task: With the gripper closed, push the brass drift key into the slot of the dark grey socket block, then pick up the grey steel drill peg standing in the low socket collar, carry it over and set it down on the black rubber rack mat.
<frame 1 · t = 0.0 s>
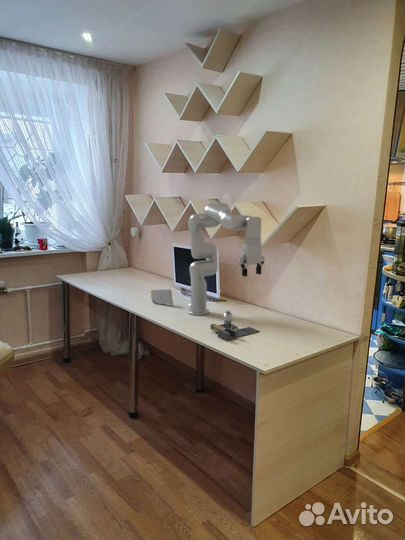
hand: (251, 275, 207), 31 cm above the table, tool pointing down, fingers open, 9 cm apart
rack mat: (243, 332, 215), on the table
socket collar: (227, 327, 223), on the table
drift key: (218, 329, 212), point 3 cm above the table, slide at 0.0 cm
drill peg: (227, 327, 223), resting in socket collar
socket block: (227, 337, 207), on the table
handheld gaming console: (161, 304, 265), on the table
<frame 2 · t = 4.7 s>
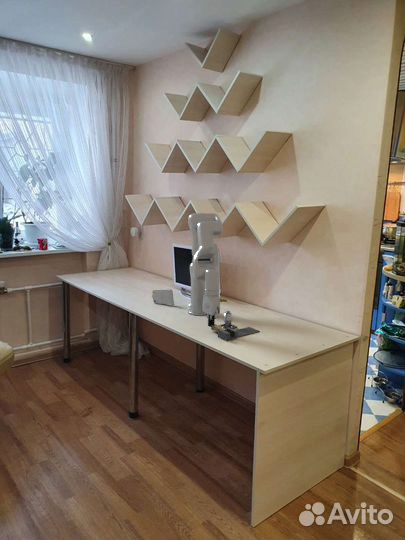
hand: (211, 326, 217), 2 cm above the table, tool pointing down, fingers closed
drift key: (219, 329, 211), point 2 cm above the table, slide at 0.7 cm, touching gripper
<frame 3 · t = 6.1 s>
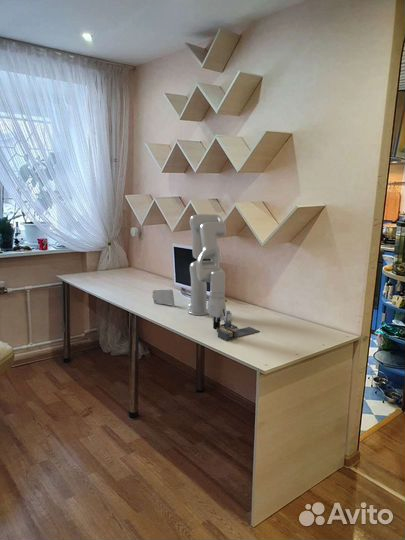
hand: (216, 328, 213), 2 cm above the table, tool pointing down, fingers closed
drift key: (224, 331, 208), point 2 cm above the table, slide at 5.2 cm, touching gripper
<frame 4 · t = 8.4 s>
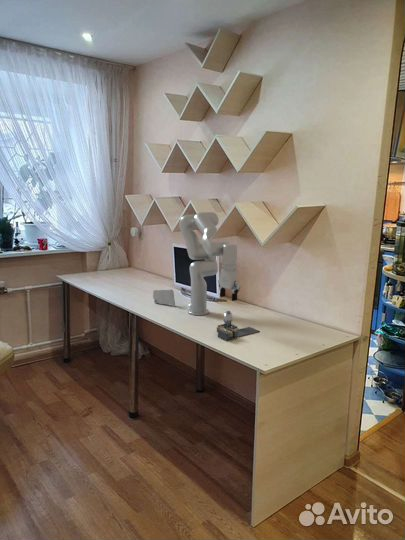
hand: (228, 298, 219), 16 cm above the table, tool pointing down, fingers open, 9 cm apart
drift key: (224, 331, 208), point 2 cm above the table, slide at 5.2 cm
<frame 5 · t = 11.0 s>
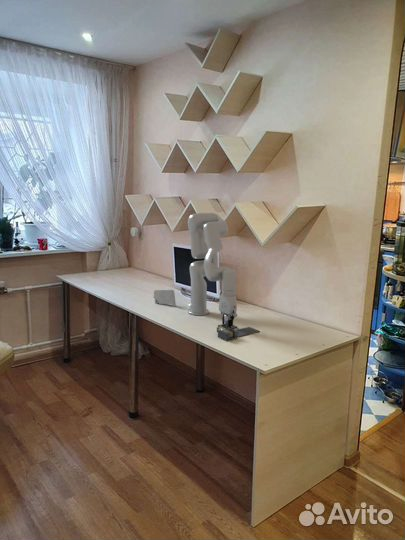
hand: (227, 324, 222), 2 cm above the table, tool pointing down, fingers closed on drill peg, 4 cm apart
drill peg: (227, 327, 223), resting in socket collar, touching gripper
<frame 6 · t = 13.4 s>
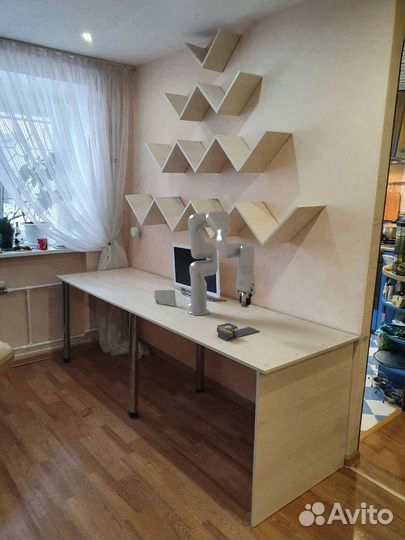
hand: (245, 303, 212), 16 cm above the table, tool pointing down, fingers closed on drill peg, 4 cm apart
drill peg: (245, 306, 212), point 14 cm above the table, touching gripper
when the fingers open (3 cm above the table, at t = 15.9 s): drill peg stays where it is, resting on rack mat.
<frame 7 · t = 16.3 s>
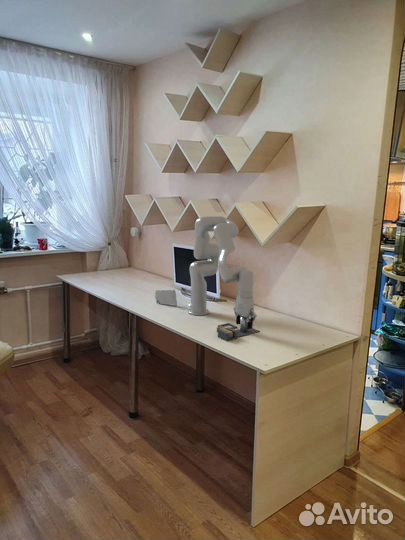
hand: (244, 326, 214), 3 cm above the table, tool pointing down, fingers open, 8 cm apart
drill peg: (243, 331, 215), point 1 cm above the table, touching rack mat
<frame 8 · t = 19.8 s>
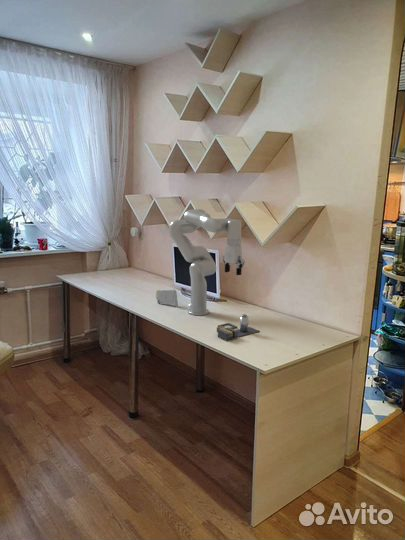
hand: (232, 273, 225), 28 cm above the table, tool pointing down, fingers open, 9 cm apart
at the end: drift key slide at 5.2 cm; drill peg inside the target area on the rack mat (0.1 cm from its centre), point 0.5 cm above the rack mat's base; the gripper is holding nothing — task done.
